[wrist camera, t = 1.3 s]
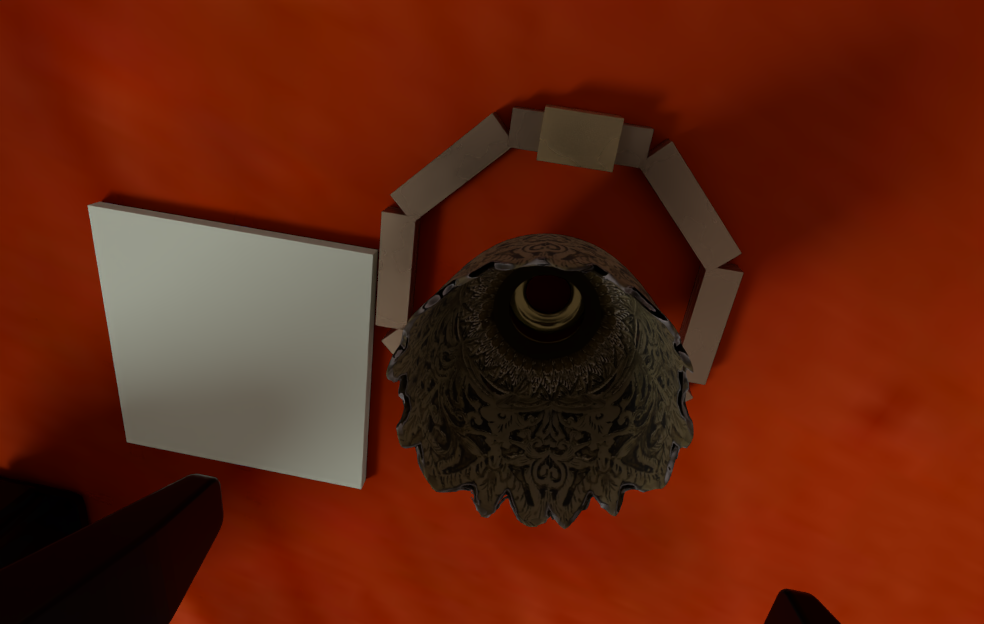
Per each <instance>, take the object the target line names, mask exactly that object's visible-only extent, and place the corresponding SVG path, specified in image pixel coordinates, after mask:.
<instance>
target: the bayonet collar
mask: <svg viewBox="0 0 984 624" xmlns="http://www.w3.org/2000/svg"><path fill="white" fill-rule="evenodd" d="M623 122H624V118H623V117H622V116H619V115H613V114H606V113H600V112H593V111H587V110H580V109H574V108H567V107H561V106H554V105H548V104H547V105H546V106H545V111H544V110H537V109H531V108H524V107H518V106H515V107H513V111H512V118H511V125H510V132H509V130H508V129H507V128H506V126H505V125H504V123H503V122H502V121H501V119H500V118H499V116H498V115H497V113H496V112H494V113H492V114H491V115H489V116H488V117H487V118H486V119H484V120H483V121H482V122H481V123H479V124H478V125H477V126H476V127H474V128H473V129H472V130H471V131H469V132H468V133H467V134H466V135H464V136H463V137H462V138H461V139H459V140H458V141H457V142H456V143H454V144H453V145H452V146H451V147H449V148H448V149H447V150H446V151H444V152H443V153H442V154H441V155H439V156H438V157H437V158H436V159H434V160H433V161H432V162H431V163H429V164H428V165H427V166H426V167H424V168H423V169H422V170H421V171H419V172H418V173H417V174H416V175H414V176H413V177H412V178H411V179H409V180H408V181H407V182H406V183H404V184H403V185H402V186H401V187H399V188H398V189H397V190H396V191H394V192H393V193H392V194H391V196H392V198H393V199H394V200H395V202H396V203H397V204H398V205H399V207H400V208H395V207H387V208H386V209H385V210H383V211H382V217H381V235H380V253H379V271H378V289H377V307H376V325H378V326H384V327H389V328H392V329H391V330H390V331H388V332H387V333H386V335H385V336H384V338H383V339H382V342H383V343H384V345H385V346H386V347H387V348H388V349H389V350H390V351H391V353H392V354H394V352H395V351H396V349H397V348H398V347H399V345H400V342H401V339H402V333H403V330H404V328H405V326H406V324H407V322H408V320H409V319H410V318H411V317H412V314H413V302H414V290H415V279H416V267H417V255H418V243H419V232H420V220H421V216H422V215H424V214H425V213H426V212H428V211H429V210H430V209H432V208H433V207H434V206H435V205H437V204H438V203H439V202H441V201H442V200H443V199H445V198H446V197H447V196H449V195H450V194H451V193H452V192H454V191H455V190H456V189H458V188H459V187H460V186H462V185H463V184H464V183H466V182H467V181H468V180H470V179H471V178H472V177H473V176H475V175H476V174H477V173H479V172H480V171H481V170H483V169H484V168H485V167H487V166H488V165H489V164H490V163H492V162H493V161H494V160H496V159H497V158H498V157H500V156H501V155H502V154H504V153H505V152H506V151H508V150H509V149H510V148H517V149H523V150H530V151H536V152H538V154H537V160H539V161H546V162H552V163H558V164H564V165H571V166H577V167H583V168H589V169H596V170H602V171H608V172H612V171H613V167H614V164H618V165H624V166H630V167H636V168H640V169H641V171H642V172H643V174H644V175H645V177H646V178H647V180H648V181H649V183H650V184H651V186H652V188H653V189H654V191H655V192H656V194H657V195H658V197H659V198H660V200H661V201H662V203H663V205H664V206H665V208H666V209H667V211H668V212H669V214H670V215H671V217H672V218H673V220H674V222H675V223H676V225H677V226H678V228H679V229H680V231H681V232H682V234H683V235H684V237H685V239H686V240H687V242H688V243H689V245H690V246H691V248H692V249H693V251H694V252H695V254H696V256H697V257H698V259H699V260H700V262H701V264H700V268H699V271H698V274H697V277H696V281H695V284H694V287H693V290H692V294H691V297H690V300H689V303H688V307H687V310H686V313H685V316H684V320H683V323H682V326H681V329H680V333H679V335H680V337H681V344H682V346H683V347H684V349H685V351H686V352H687V354H688V356H689V358H690V361H691V363H692V366H693V371H694V372H693V373H692V372H690V371H689V370H687V369H686V374H687V375H686V376H687V379H688V382H692V383H698V384H703V385H705V383H706V380H707V378H708V375H709V372H710V369H711V366H712V363H713V360H714V357H715V354H716V351H717V348H718V346H719V343H720V340H721V337H722V334H723V331H724V328H725V325H726V322H727V319H728V316H729V314H730V311H731V308H732V305H733V302H734V299H735V296H736V293H737V290H738V287H739V284H740V282H741V279H742V276H743V271H742V270H741V269H740V268H739V267H738V266H737V265H734V264H728V263H726V262H728V261H730V260H731V259H733V258H735V257H736V256H738V255H740V254H742V253H741V252H740V250H739V248H738V247H737V245H736V243H735V242H734V240H733V239H732V237H731V235H730V234H729V232H728V231H727V229H726V227H725V226H724V224H723V223H722V221H721V219H720V218H719V216H718V214H717V213H716V211H715V210H714V208H713V206H712V205H711V203H710V202H709V200H708V198H707V197H706V195H705V194H704V192H703V190H702V189H701V187H700V185H699V184H698V182H697V181H696V179H695V177H694V176H693V174H692V173H691V171H690V169H689V168H688V166H687V165H686V163H685V161H684V160H683V158H682V157H681V155H680V153H679V152H678V150H677V148H676V147H675V145H674V144H673V142H672V141H671V140H669V139H666V140H665V141H663V142H662V143H661V144H659V145H658V146H656V147H655V148H653V149H652V150H650V151H649V147H650V143H651V139H652V135H653V131H654V129H653V128H651V127H647V126H640V125H634V124H628V123H623ZM648 151H649V152H648ZM692 398H693V397H692V394H691V391H690V389H689V390H688V391H687V392H686V399H685V402H686V401H688V400H690V399H692Z"/></svg>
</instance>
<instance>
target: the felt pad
mask: <svg viewBox="0 0 984 624" xmlns="http://www.w3.org/2000/svg"><path fill="white" fill-rule="evenodd" d="M88 210H89V216H90V222H91V228H92V234H93V240H94V246H95V252H96V258H97V264H98V270H99V277H100V283H101V289H102V295H103V301H104V307H105V313H106V319H107V325H108V331H109V337H110V343H111V349H112V355H113V361H114V367H115V374H116V380H117V386H118V392H119V398H120V404H121V410H122V416H123V422H124V428H125V434H126V440H127V442H128V443H133V444H138V445H143V446H148V447H153V448H158V449H163V450H168V451H173V452H178V453H183V454H188V455H193V456H198V457H203V458H208V459H213V460H218V461H223V462H228V463H233V464H238V465H243V466H248V467H253V468H258V469H263V470H268V471H273V472H278V473H283V474H288V475H293V476H298V477H303V478H308V479H313V480H318V481H323V482H328V483H333V484H338V485H343V486H348V487H353V488H358V489H361V488H362V486H363V484H364V482H365V480H366V463H367V444H368V426H369V408H370V389H371V371H372V352H373V334H374V316H375V297H376V279H377V260H378V250H376V249H370V248H364V247H359V246H353V245H347V244H341V243H335V242H330V241H324V240H318V239H312V238H307V237H301V236H295V235H289V234H283V233H278V232H272V231H266V230H260V229H255V228H249V227H243V226H237V225H231V224H226V223H220V222H214V221H208V220H203V219H197V218H191V217H185V216H179V215H174V214H168V213H162V212H156V211H151V210H145V209H139V208H133V207H127V206H122V205H116V204H110V203H104V202H97V203H94V204H90V205H88Z"/></svg>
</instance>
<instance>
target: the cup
mask: <svg viewBox="0 0 984 624" xmlns="http://www.w3.org/2000/svg"><path fill="white" fill-rule="evenodd" d="M539 275H554V276H558V277H561V278H564V279H565V280H566V281H567V282H568V284H569V286H570V290H571V295H570V299H569V302H568V303H567V305H566V306H565V307H564V308H563V309H561V310H560V311H557V312H554V313H543V312H540V311H538V310H536V309H534V308H533V307H532V306H531V305H530V303H529V302H528V300H527V296H526V288H527V285H528V283H529V281H530V280H531V279H532V278H533V277H535V276H539ZM686 369H687V370H689V371H690V372H692V373H693V372H694V371H693V366H692V363H691V361H690V358H689V356H688V354H687V352H686V351H685V349H684V347H683V346H682V344H681V337H680V335H679V334H678V332H677V330H676V329H675V327H674V326H673V324H672V323H671V322H670V321H669V320H668V318H667V317H666V316H665V315H664V314H663V313H662V312H661V311H660V310H659V308H658V307H657V305H656V304H655V303H654V301H653V300H652V298H651V297H650V296H649V294H648V293H647V292H646V290H645V289H644V288H643V286H642V285H641V284H640V282H639V281H638V280H637V279H636V278H635V277H634V276H633V275H632V274H631V272H630V271H629V270H628V269H627V268H626V267H625V266H624V265H622V264H621V263H620V262H619V261H618V260H617V259H615V258H614V257H613V256H612V255H610V254H609V253H607V252H606V251H604V250H603V249H601V248H599V247H597V246H595V245H593V244H591V243H588V242H586V241H583V240H581V239H577V238H573V237H570V236H565V235H558V234H531V235H525V236H520V237H516V238H513V239H509V240H506V241H504V242H501V243H499V244H497V245H495V246H493V247H491V248H490V249H488V250H486V251H484V252H482V253H481V254H480V255H478V256H477V257H475V258H474V259H473V260H471V261H470V262H469V263H468V264H466V265H465V266H464V267H463V268H462V269H461V270H460V271H459V272H458V273H457V274H455V275H454V276H453V277H452V278H451V279H450V280H449V281H448V282H447V283H446V284H445V285H444V286H443V287H442V288H441V289H440V290H439V291H438V292H437V293H436V294H435V295H434V296H433V297H431V298H430V299H429V300H428V301H427V302H426V303H425V304H424V305H423V306H421V307H420V308H419V309H418V310H417V311H416V312H415V313H414V314H413V315H412V317H411V318H410V319H409V320H408V322H407V324H406V326H405V328H404V330H403V333H402V339H401V342H400V345H399V347H398V348H397V349H396V351H395V352H394V354H393V356H392V358H391V360H390V363H389V365H388V368H387V372H386V376H387V379H389V380H392V381H393V382H394V381H395V382H397V381H398V380H400V386H399V391H398V393H399V397H400V398H402V399H403V404H404V411H403V414H402V418H401V420H400V421H399V423H398V424H397V427H396V429H397V435H398V439H399V443H400V445H401V447H403V448H411V447H415V448H416V452H417V459H418V464H419V467H420V469H421V471H422V473H423V475H424V476H425V478H426V480H427V481H428V482H429V484H430V485H431V487H432V489H434V490H435V491H436V492H456V491H458V490H467V491H471V493H472V494H474V501H473V502H474V504H475V506H476V510H477V511H478V512H479V513H480V514H481V516H482V517H486V518H487V517H489V516H490V515H491V514H493V513H494V512H495V510H497V509H498V508H499V507H500V504H501V503H502V502H503V501H504V500H505V499H507V498H508V499H509V501H510V505H511V508H512V510H513V512H514V514H515V516H516V518H517V519H518V520H519V521H520V522H521V523H523V524H524V525H526V526H529V527H537V525H539V524H543V523H546V521H547V519H548V518H549V517H550V516H551V518H552V520H554V519H555V520H556V522H557V523H558V524H559V525H560V526H561V527H562V528H564V529H566V528H567V527H569V526H570V525H571V523H572V522H574V521H575V519H576V518H577V516H578V515H579V514H580V513H581V511H582V510H586V509H587V508H588V506H589V503H590V499H591V497H595V499H596V500H597V501H598V502H599V503H600V505H601V507H602V508H604V509H605V510H606V511H607V512H609V513H610V514H611V515H613V516H616V515H617V514H618V512H619V510H620V508H621V505H622V502H623V497H624V493H625V491H628V490H631V489H635V490H639V491H641V492H646V491H649V490H653V489H661V488H663V487H664V486H665V485H666V484H667V482H668V481H669V479H670V476H671V473H672V470H673V466H674V463H675V460H676V459H677V457H678V452H679V449H680V448H682V447H684V448H687V447H688V446H689V445H690V443H691V441H692V439H693V422H692V420H691V418H690V416H689V414H688V411H687V407H686V404H685V399H686V392H687V391H688V390H689V382H688V379H687V376H686V375H687V374H686ZM395 382H394V383H395ZM471 489H472V490H473V492H472V490H471ZM504 495H508V496H506V497H504V498H503V496H504ZM471 498H472V497H471ZM502 498H503V499H502ZM501 499H502V500H501ZM472 500H473V498H472ZM500 500H501V501H500ZM499 501H500V503H499ZM498 503H499V504H498ZM497 504H498V505H497Z"/></svg>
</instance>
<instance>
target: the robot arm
mask: <svg viewBox="0 0 984 624" xmlns="http://www.w3.org/2000/svg"><path fill="white" fill-rule="evenodd" d="M222 522H223V505H222V495H221V486H220V482H219V480H218V479H217V478H215V477H211V476H206V475H201V474H191V475H188V476H186V477H184V478H182V479H180V480H178V481H176V482H174V483H172V484H170V485H168V486H166V487H164V488H162V489H160V490H158V491H156V492H154V493H152V494H150V495H148V496H146V497H144V498H142V499H140V500H138V501H136V502H134V503H132V504H130V505H128V506H126V507H124V508H122V509H120V510H118V511H116V512H114V513H112V514H110V515H108V516H106V517H104V518H102V519H100V520H98V521H96V522H94V523H92V524H90V525H89V523H88V518H87V514H86V509H85V504H84V501H83V499H82V497H81V496H80V495H78V494H77V493H74V492H70V491H65V490H60V489H55V488H51V487H46V486H41V485H36V484H31V483H26V482H22V481H17V480H12V479H7V478H2V477H0V624H169V623H170V621H171V620H172V618H173V616H174V614H175V612H176V611H177V609H178V607H179V605H180V604H181V602H182V600H183V598H184V596H185V594H186V592H187V590H188V589H189V587H190V585H191V583H192V581H193V579H194V577H195V575H196V574H197V572H198V570H199V568H200V566H201V564H202V562H203V560H204V559H205V557H206V555H207V553H208V551H209V549H210V547H211V545H212V544H213V542H214V540H215V538H216V536H217V534H218V532H219V530H220V528H221V525H222ZM764 624H841V623H840V622H839V621H838V620H837V619H836V618H835V617H834V616H833V615H832V614H831V613H830V612H829V611H828V610H827V609H826V608H825V607H824V606H823V605H822V603H821V602H820V601H819V600H818V599H817V598H815V597H814V596H813V595H811V594H809V593H806V592H801V591H796V590H791V589H783V590H781V591H780V592H779V594H778V595H777V597H776V599H775V602H774V604H773V606H772V608H771V610H770V612H769V614H768V616H767V618H766V620H765V623H764Z"/></svg>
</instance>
